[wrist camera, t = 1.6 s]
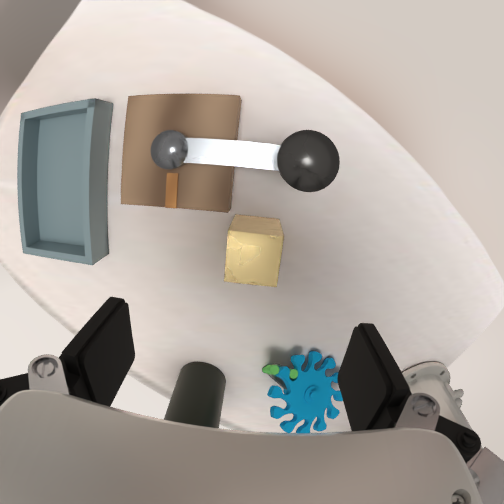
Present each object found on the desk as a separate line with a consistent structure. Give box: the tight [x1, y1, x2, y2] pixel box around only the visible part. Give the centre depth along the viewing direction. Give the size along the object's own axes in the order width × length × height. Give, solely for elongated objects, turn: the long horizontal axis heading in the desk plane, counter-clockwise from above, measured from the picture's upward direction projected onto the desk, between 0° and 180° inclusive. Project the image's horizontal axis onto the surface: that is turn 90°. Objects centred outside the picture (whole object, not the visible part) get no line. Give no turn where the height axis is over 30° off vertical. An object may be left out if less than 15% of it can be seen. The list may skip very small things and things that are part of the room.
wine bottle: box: [164, 362, 226, 428], centre depth 18 cm, size 6×6×30 cm
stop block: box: [224, 214, 284, 287], centre depth 24 cm, size 4×4×6 cm
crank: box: [151, 130, 339, 192], centre depth 19 cm, size 13×4×7 cm, turn 84°
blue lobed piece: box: [262, 351, 343, 433], centre depth 30 cm, size 11×6×10 cm
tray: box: [17, 98, 113, 265], centre depth 24 cm, size 11×16×4 cm
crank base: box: [121, 94, 241, 213], centre depth 23 cm, size 10×10×2 cm
